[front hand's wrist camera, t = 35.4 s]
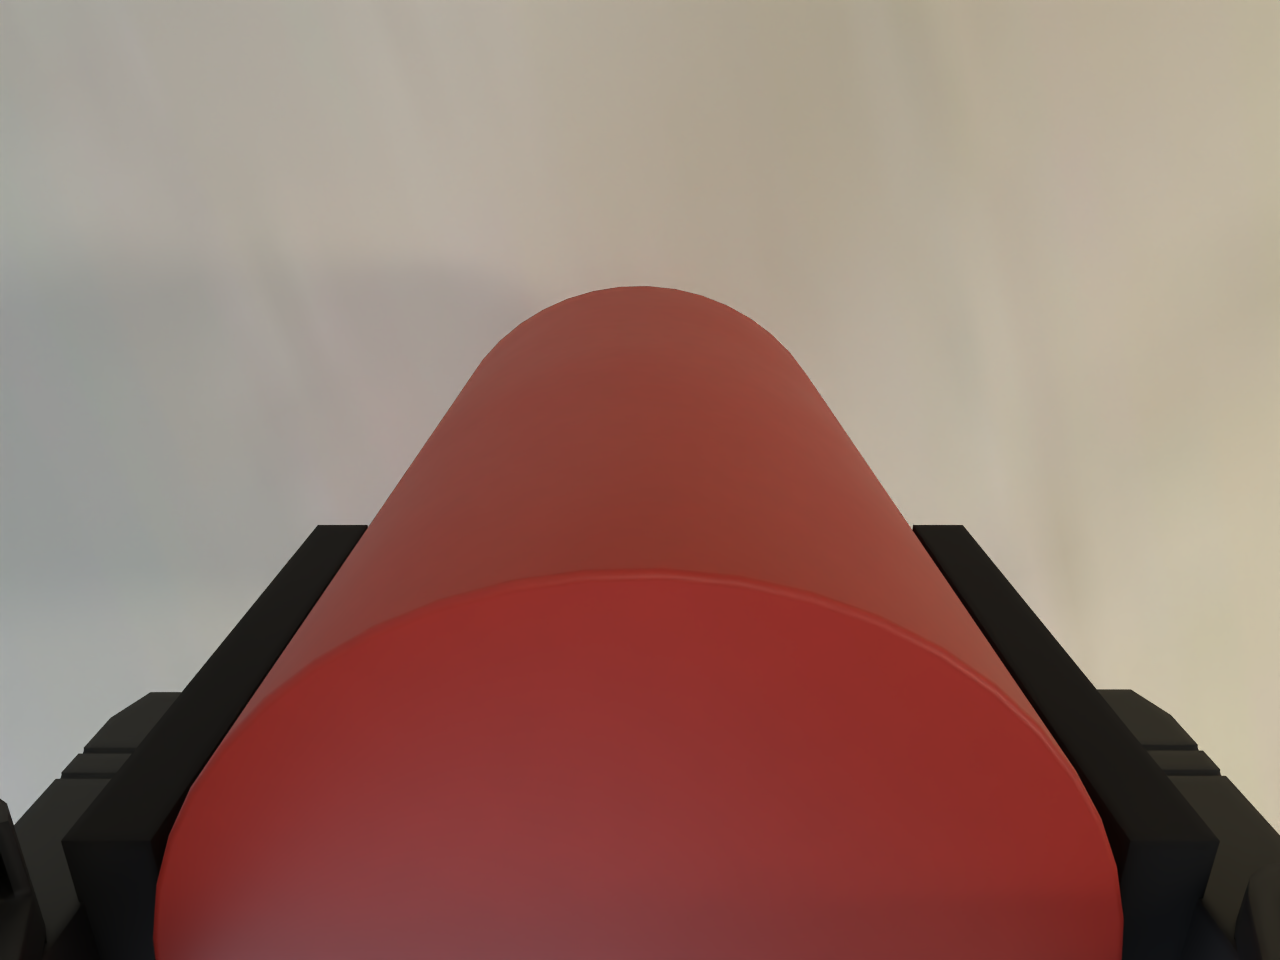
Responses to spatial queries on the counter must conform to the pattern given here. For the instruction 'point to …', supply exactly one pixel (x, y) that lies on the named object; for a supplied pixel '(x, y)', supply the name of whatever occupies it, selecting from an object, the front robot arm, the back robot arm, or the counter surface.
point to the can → (638, 697)
